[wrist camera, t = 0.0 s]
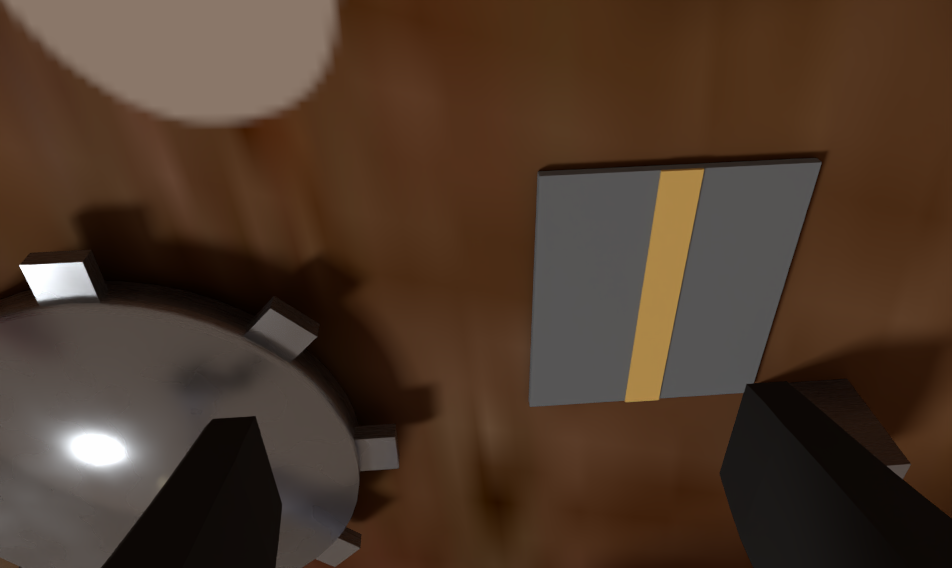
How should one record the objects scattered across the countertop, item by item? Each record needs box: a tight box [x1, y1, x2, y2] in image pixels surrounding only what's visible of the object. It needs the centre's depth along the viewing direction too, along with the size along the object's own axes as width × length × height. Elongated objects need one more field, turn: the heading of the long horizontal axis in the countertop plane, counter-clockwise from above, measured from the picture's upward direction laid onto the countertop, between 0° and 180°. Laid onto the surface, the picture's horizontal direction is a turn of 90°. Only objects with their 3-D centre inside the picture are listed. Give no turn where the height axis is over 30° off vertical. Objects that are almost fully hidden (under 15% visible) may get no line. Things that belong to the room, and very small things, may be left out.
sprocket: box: [0, 250, 399, 568], centre depth 21 cm, size 17×17×5 cm
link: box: [789, 379, 911, 479], centre depth 24 cm, size 5×4×4 cm
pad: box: [529, 158, 822, 407], centre depth 21 cm, size 9×8×1 cm
